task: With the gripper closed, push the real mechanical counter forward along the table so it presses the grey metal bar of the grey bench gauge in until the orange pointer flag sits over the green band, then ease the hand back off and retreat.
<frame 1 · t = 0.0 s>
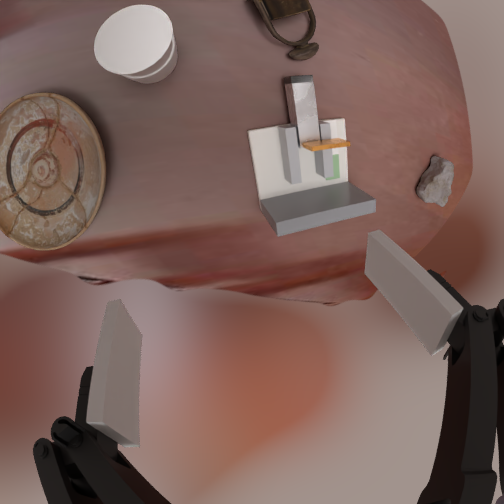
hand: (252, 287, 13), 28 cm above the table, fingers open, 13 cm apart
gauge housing: (299, 141, 38), on the table
grey metal bar: (317, 110, 32), point 4 cm above the table, slide at 0.0 cm
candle: (153, 61, 28), on the table
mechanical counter: (280, 23, 28), on the table
stone: (427, 176, 47), on the table
ceramic bowl: (46, 167, 31), on the table
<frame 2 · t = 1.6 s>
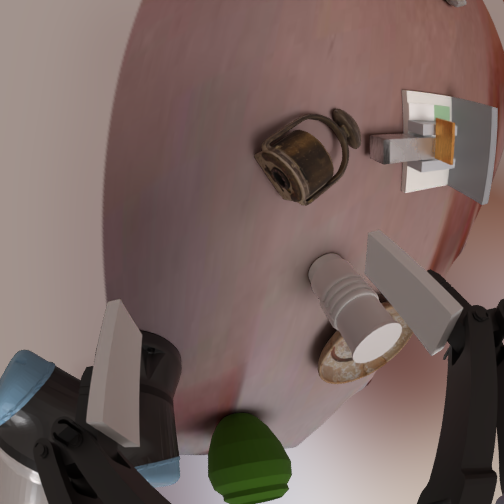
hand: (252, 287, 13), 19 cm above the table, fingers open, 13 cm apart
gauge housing: (417, 141, 32), on the table
grey metal bar: (414, 139, 27), point 4 cm above the table, slide at 0.0 cm
vase: (236, 417, 61), on the table
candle: (325, 269, 40), on the table
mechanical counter: (306, 150, 30), on the table
ceramic bowl: (361, 332, 52), on the table
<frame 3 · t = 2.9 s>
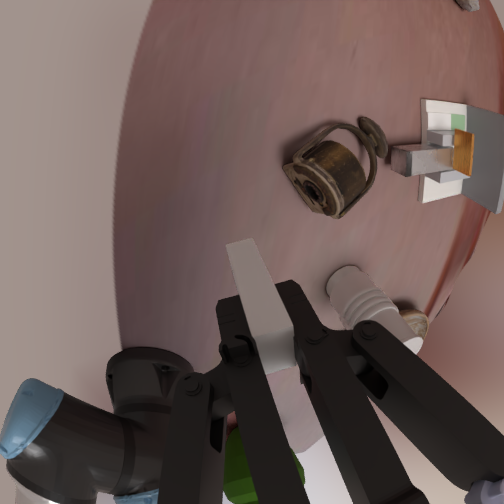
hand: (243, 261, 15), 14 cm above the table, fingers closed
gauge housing: (434, 150, 30), on the table
grey metal bar: (435, 150, 26), point 4 cm above the table, slide at 0.0 cm
vase: (248, 427, 59), on the table
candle: (343, 281, 39), on the table
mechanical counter: (333, 160, 29), on the table
ceramic bowl: (373, 341, 51), on the table
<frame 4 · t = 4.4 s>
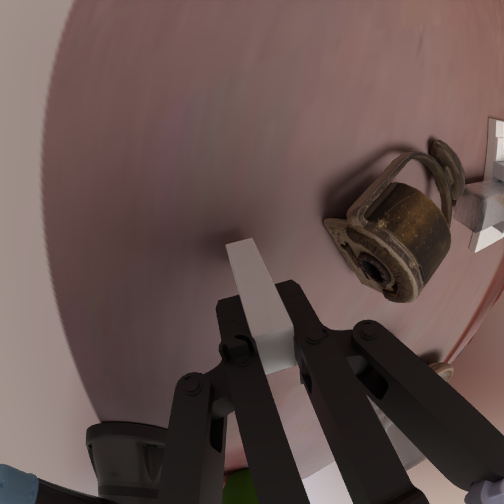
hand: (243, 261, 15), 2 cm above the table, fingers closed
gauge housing: (493, 185, 20), on the table
vase: (247, 470, 49), on the table
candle: (370, 349, 28), on the table
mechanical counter: (392, 203, 19), on the table
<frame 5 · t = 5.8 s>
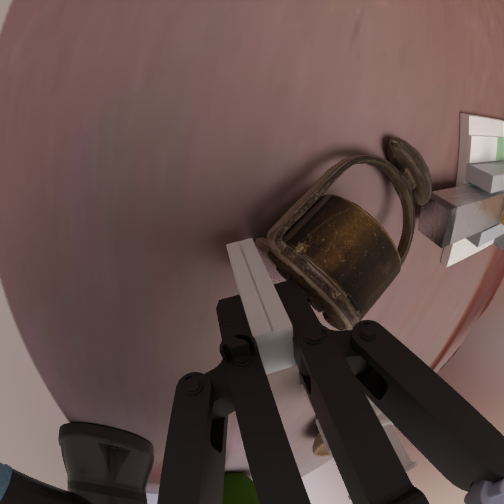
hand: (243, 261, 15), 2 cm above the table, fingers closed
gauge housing: (470, 190, 19), on the table
grey metal bar: (486, 202, 15), point 4 cm above the table, slide at 0.8 cm, touching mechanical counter
vase: (225, 474, 48), on the table
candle: (327, 368, 28), on the table
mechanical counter: (343, 214, 18), on the table, touching gripper, grey metal bar
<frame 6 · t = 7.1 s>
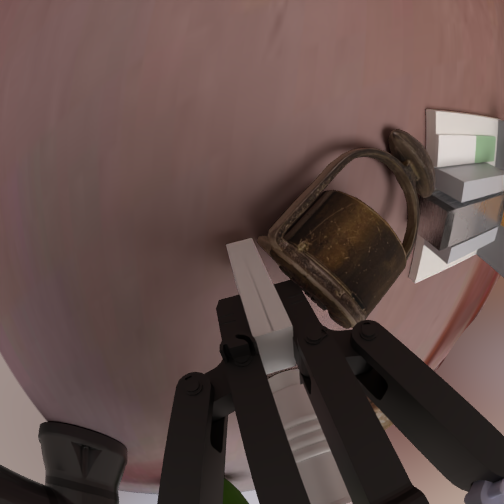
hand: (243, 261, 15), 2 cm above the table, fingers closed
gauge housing: (444, 197, 19), on the table
grey metal bar: (485, 203, 14), point 4 cm above the table, slide at 5.3 cm
vase: (206, 477, 48), on the table
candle: (285, 383, 27), on the table
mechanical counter: (346, 208, 17), on the table, touching gripper
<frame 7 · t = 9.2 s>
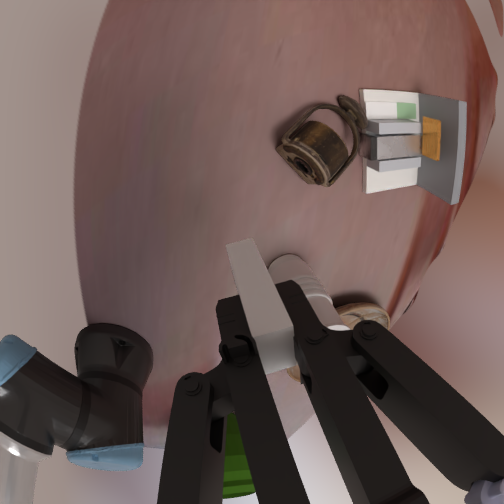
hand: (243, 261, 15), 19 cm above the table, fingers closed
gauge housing: (379, 140, 33), on the table
grey metal bar: (401, 136, 29), point 4 cm above the table, slide at 5.6 cm
vase: (214, 413, 63), on the table
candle: (285, 270, 42), on the table
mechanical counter: (320, 137, 32), on the table
ceramic bowl: (332, 333, 54), on the table
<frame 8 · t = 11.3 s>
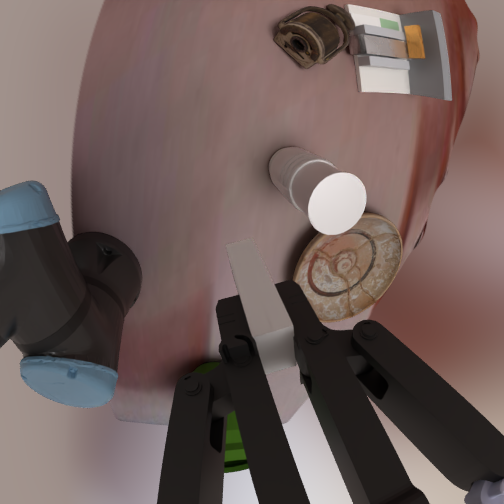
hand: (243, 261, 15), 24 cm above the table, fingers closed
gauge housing: (368, 48, 30), on the table
grey metal bar: (386, 38, 26), point 4 cm above the table, slide at 5.6 cm
vase: (212, 370, 59), on the table
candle: (287, 166, 39), on the table
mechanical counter: (314, 36, 29), on the table
ceramic bowl: (341, 260, 51), on the table
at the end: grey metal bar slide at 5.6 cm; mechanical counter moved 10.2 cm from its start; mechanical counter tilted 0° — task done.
